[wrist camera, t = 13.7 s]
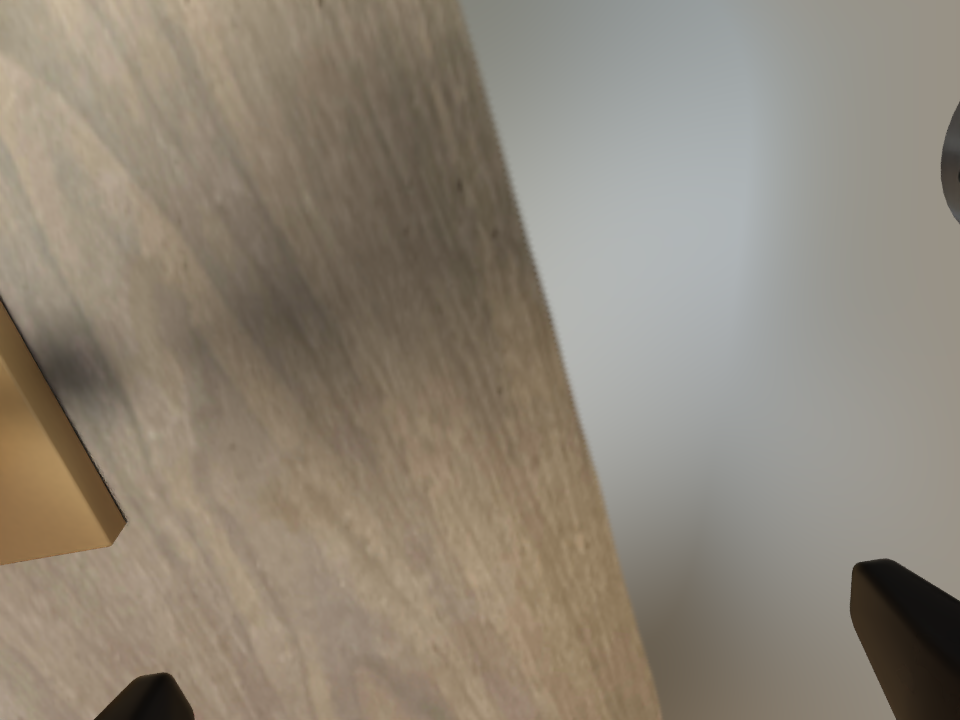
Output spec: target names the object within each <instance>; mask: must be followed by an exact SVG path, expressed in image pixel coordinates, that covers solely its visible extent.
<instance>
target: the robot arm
mask: <svg viewBox="0 0 960 720" xmlns="http://www.w3.org/2000/svg"><path fill="white" fill-rule="evenodd" d="M958 179H959V183H960V171H959V175H958ZM850 614H851V619H852V622H853V626H854V628H855V631H856V633H857V635H858V637H859V639H860V641H861V644H862V646H863V648H864V650H865V652H866V655H867V657H868V659H869V661H870V663H871V665H872V668H873V670H874V672H875V674H876V676H877V678H878V681H879V683H880V685H881V687H882V689H883V692H884V694H885V696H886V698H887V700H888V702H889V705H890V707H891V709H892V711H893V713H894V715H895V717H896V720H960V601H959V600H957V599H956V598H954V597H952V596H951V595H949V594H948V593H946V592H944V591H943V590H941V589H939V588H938V587H936V586H935V585H933V584H931V583H930V582H928V581H926V580H925V579H923V578H921V577H920V576H918V575H917V574H915V573H913V572H912V571H910V570H908V569H906V568H905V567H903V566H901V565H900V564H899V563H897V562H895V561H893V560H890V559H877V560H871V561H865V562H859V563H857V564H856V565H855V566H854V567H853V571H852V582H851V599H850ZM94 720H195V718H194V713H193V710H192V707H191V706H190V704H189V702H188V701H187V699H186V697H185V696H184V694H183V692H182V691H181V689H180V687H179V686H178V684H177V682H176V681H175V679H174V678H173V676H172V675H170V674H168V673H164V672H163V673H156V674H150V675H144V676H140V677H138V678H136V679H134V680H133V681H132V682H131V683H130V684H129V685H128V686H127V687H126V688H125V689H124V690H123V691H122V692H121V693H120V694H119V695H118V696H117V697H116V698H115V699H114V700H113V701H112V702H111V703H110V704H109V705H108V706H107V707H106V708H105V709H104V710H103V711H102V712H101V713H100V714H99V715H98V716H97V717H96V718H95V719H94Z"/></svg>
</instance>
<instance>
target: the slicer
mask: <svg viewBox="0 0 960 720" xmlns="http://www.w3.org/2000/svg"><path fill="white" fill-rule="evenodd" d="M125 525H126V522H125V520H124V519H123V517H122V515H121V513H120V511H119V510H118V508H117V506H116V504H115V503H114V501H113V499H112V497H111V496H110V494H109V492H108V490H107V488H106V487H105V485H104V483H103V481H102V480H101V478H100V476H99V474H98V472H97V471H96V469H95V467H94V465H93V464H92V462H91V460H90V458H89V456H88V455H87V453H86V451H85V449H84V448H83V446H82V444H81V442H80V441H79V439H78V437H77V435H76V433H75V432H74V430H73V428H72V426H71V425H70V423H69V421H68V419H67V417H66V416H65V414H64V412H63V410H62V409H61V407H60V405H59V403H58V401H57V400H56V398H55V396H54V394H53V393H52V391H51V389H50V387H49V386H48V384H47V382H46V380H45V378H44V377H43V375H42V373H41V371H40V370H39V368H38V366H37V364H36V362H35V361H34V359H33V357H32V355H31V354H30V352H29V350H28V348H27V346H26V345H25V343H24V341H23V339H22V338H21V336H20V334H19V332H18V330H17V329H16V327H15V325H14V323H13V322H12V320H11V318H10V316H9V315H8V313H7V311H6V309H5V307H4V306H3V304H2V302H1V300H0V565H4V564H10V563H16V562H22V561H28V560H33V559H39V558H45V557H51V556H57V555H63V554H68V553H74V552H80V551H86V550H92V549H97V548H103V547H109V546H111V545H112V544H113V543H114V541H115V540H116V538H117V537H118V535H119V534H120V532H121V531H122V529H123V528H124V526H125Z"/></svg>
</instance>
